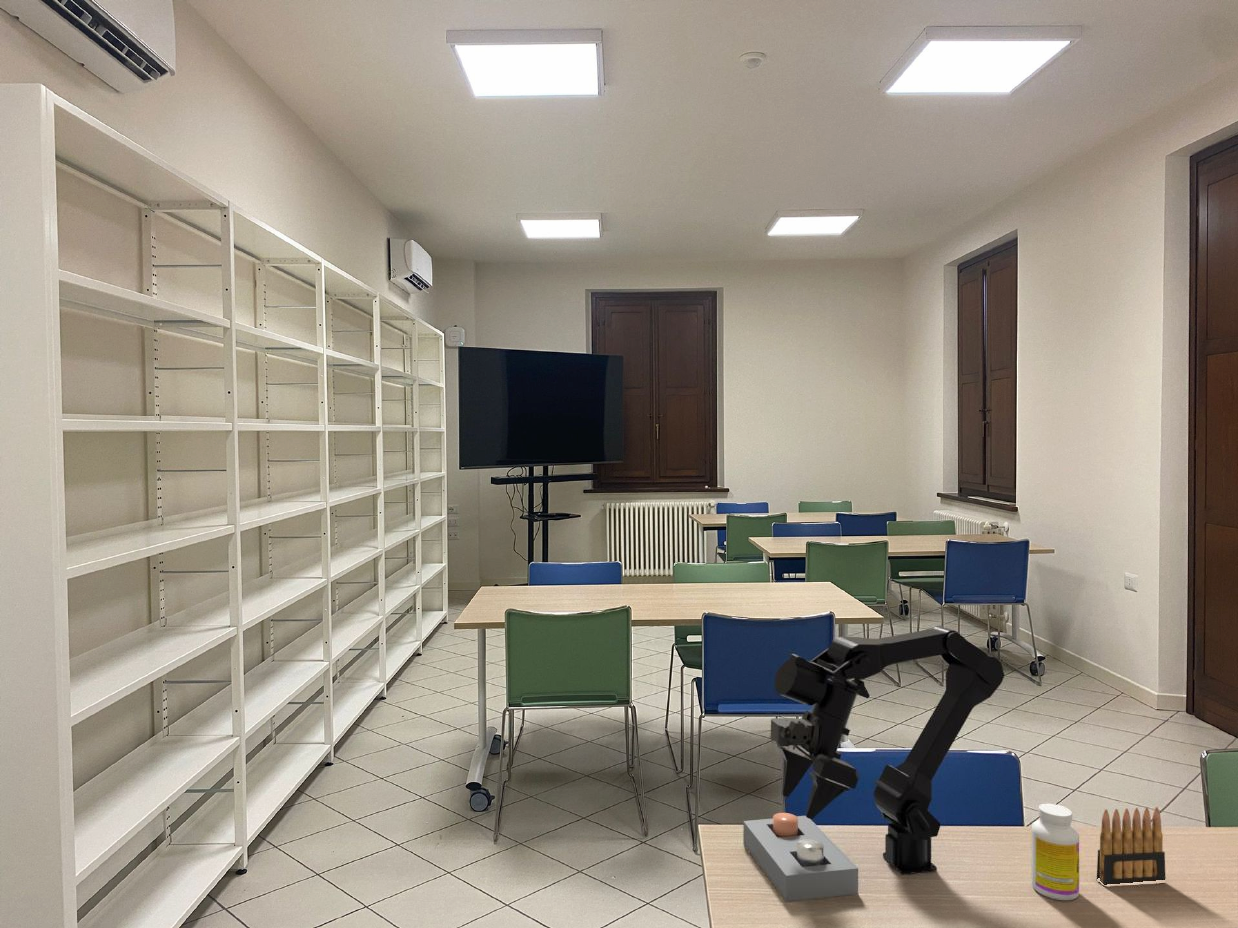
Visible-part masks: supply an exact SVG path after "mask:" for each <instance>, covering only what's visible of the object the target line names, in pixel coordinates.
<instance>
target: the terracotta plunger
mask: <svg viewBox="0 0 1238 928" xmlns="http://www.w3.org/2000/svg"><path fill="white" fill-rule="evenodd" d="M796 816H797V815H794V814H792V813H788V812H777V813H775V814H774V815H773V816H772V819H773V833H774V834H775V835H776V837H777V838H779V837H790V836H798V818H797V817H796Z"/></svg>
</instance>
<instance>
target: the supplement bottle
mask: <svg viewBox="0 0 1238 928" xmlns="http://www.w3.org/2000/svg"><path fill="white" fill-rule="evenodd" d="M1038 817H1039V819H1037V820H1036V821H1034V822H1033V824H1032V825H1031V862H1030V863H1031V873H1030V874H1031V878H1030V879H1031V885H1032V887H1033V888H1034V890H1035V892H1036V891H1037V893H1039V894H1040V895H1042V896H1044V897H1047V898H1050V899H1053V900H1058V901H1073V900H1076V899H1077V898H1078V896H1079V895H1080V835H1079V833H1078V830H1077V829H1076V828H1075V827H1073V826H1072V825H1071V824H1072V822H1073V812H1072V811H1071V809H1069V808H1067V807H1066V806H1063V805H1059V804H1054V803H1042V804H1039V805H1038Z"/></svg>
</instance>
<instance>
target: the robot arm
mask: <svg viewBox="0 0 1238 928" xmlns="http://www.w3.org/2000/svg"><path fill="white" fill-rule="evenodd" d="M937 656H939V657H940V659H941V660H942V661H943V662H944V663H946V664H947V670H946V671H945V690H944V693H943V695H942V697H941V698H940V699H939V702H938V703H937V704H936V707H935V708H934V711H933V712H932V714H931V715H930V717H929V719H928V721H926V724H925V725H924V728H923V729H922V731H921V732H920V735H918V738H917V740H916V741H915V743H914V744H913V746H912V748H911V750H910V752H908V755H907V757H906V758H905V759H904V761H903V762H902V763H900V764H899V765H897V766H892V765H891V764H886V765H885V767H884V768H883V771H882V773H881V775H880V777H879V778H878V779H877V780H876V781H875V782H874V785H876V786H875V788H874V791H873V794H872V795H873V798H874V804H875V806H876V808H877V809H878V810H879V811H880V812H881V816H882V818H883V819H884V820H886V821H888V822H889V823H888V824H887V833H886V834H885V837H884V838H885V840H884V842H885V844H884V845H885V848H884V849H885V852H882V857H883V858H884V859H885V860H886V861H887V862H888V863H890V865H891V866H892V867H894V868H895V870H896V871H898V872H899V873H900V874H902V875H909V874H918V873H928V872H937V871H938V869H937V868H938V867H937V866H936V865H935V864H934V863H933V862H932V839H933V838H935V837H938V835H939V831H940V829H941V822H940V821H938V820H937V818H935V816H934V815H933V814H931V812H930V811H929V810H928V809H929V807H930V805H931V803H932V791H933V790H932V783H933V782H932V781H933V779H934V777H935V775H936V774H937V771H938V769H939V768H940V766H941V764H942V763H943V761H944V759H945V757H946V756H947V755H948V753H949V751H950V749H951V747H952V745H953V744H954V742H955V741H956V738H957V737H958V735H959V733H960V732H961V730H962V728H963V727H964V725H965V723H966V721H967V720H968V718H969V716H970V714H971V712H972V711H973V709H974V708H975V707H977V706H978V705H980V704H981V703H983V702H985V701H986V700H988V699H990V698H991V697H992V696H993V694H994V693H995V692H996V691H997V689H998V688H1000V685H1002V683H1003V681H1004V677H1005V672H1004V667H1003V665H1002V662H1001V661H1000V659H998V658H997V657H995V656H992V655H990V654H988V653H986V652H984V651H983V650H982V649H980V648H979V647H977V646H976V645H975V644H973V643H971V642H970V641H969V640H967V639H966V638H965V637H964V636H963V635H961V634H960V633H959V631H956V630H954V629H951V628H948V627H944V626H940V625H939V626H934V627H932V628H930V629H924V630H919V631H912V632H906V633H902V634H897V635H891V636H886V637H880V638H871V637H870V638H869V637H860V636H839V637H836V638H834V639H832V640H831V643H830V644H829V646H828V648H826V649H825V650H823V651H822V652H821V653H818V655H817V656H815V657H813V658H812V659H811V660H807V659H805V658H804V657H801V656H799V655H798V654H795V653H791V654H790V658H789V659H788V660H785V662H784V663H782V664H781V666H780V668H778V669H777V671H776V674H775V676H774V677H775V678H774V689H775V692H776V693H777V694H778V695H780V696H782V697H785V698H788V699H790V700H792V701H795V702H798V703H801V704H802V705H803V704H804V705H806V706H810V707H811V706H813V707H812V709H811V711H809V710H806V711H804V712H803V714H802V717H801V718H796V717H795V718H793V717H785V718H784V717H783V718H782V717H781V718H779V717H778V718H777V717H776V718H775V717H773V718H771V719H770V737H769V738H770V739H769V740H771V741H774V742H776V744H777V749H778V750H779V752H780V754H781V756H782V758H783V775H782V787H781V789H782V790H781V794H782V796H783V797H786V798H789V797H790V796H791V795H792V793H793V792H794V791H795V789H796V788H797V786H798V785H799V784H800V782H801V780H802V779H803V777H804V776H805V774H806V773H807V772H809V775H810V777H811V780H812V787H811V791H810V794H809V799H808V803H807V806H806V813H805V816H806V817H807V818H809V819H811V820H813V819H814V818H816V817H817V816H818V815H819V814H820V813H821V812H822V811H823V810H824V809H825V808H826V807H828V806H829V805H830V804H831V803H832V802H833V801H835V799H837V798H838V797H839V796H841V795H842V794H843V793H845V792H849V791H850V789H853V790H854V789H856V787H857V784H858V782H859V779H860V775H859V772H858V770H857V769H856V768H855V767H853V766H852V765H851V764H849V763H848V762H847V761H845V760H841V757H842V754H841V753H839V751H838V750H839V746H840V743H841V740H842V737H843V735H845V736H846V737H849V734H850V732H851V730H850V728H847V727H846V726H847V723H848V721H849V718H850V715H851V714H852V711H853V707H854V704H855V702H856V699H857V697H858V696H860V697H863V698H865V699H869V698H870V693H869V691H868V689H867V687H866V685H865V681H864V680H865V679H868V678H870V677H873V676H876V675H878V674H880V673H881V672H883V670H884V669H885V668H887V667H889V666H892V665H896V664H900V663H901V664H902V663H905V662H911V661H912V662H913V661H916V660H921V659H926V658H932V657H937ZM830 677H832V678H830ZM850 679H851V680H850ZM811 766H812V770H810V767H811Z"/></svg>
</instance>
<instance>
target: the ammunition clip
mask: <svg viewBox="0 0 1238 928" xmlns="http://www.w3.org/2000/svg"><path fill="white" fill-rule="evenodd" d="M1141 819H1142V820H1141ZM1121 820H1122V821H1121ZM1131 821H1132V822H1131ZM1121 822H1122V823H1121ZM1100 830H1101V831H1100V834H1099V849H1097V863H1096V864H1097V865H1096V866H1097V867H1096V880H1097V879H1098V878H1100V881H1101V882H1102V883H1103V884H1104V885H1107V884H1120V883H1133V882H1143V881H1156V880H1165V879H1166V854H1165V851H1164V850H1163V848H1164V847H1163V839H1164V838H1163V837H1164V835H1163V831H1162V818H1161V813H1160V809H1159V808H1158V806H1155V808H1154V810H1153V812H1152V818H1151V813H1150V810H1149V808H1148V807H1145V808H1144V810H1143V814H1142V818H1141V813H1140V811H1139V808H1138V807H1135V809H1134V811H1133V814H1132V820H1131V814H1130V812H1129V809H1128V808H1125V809H1124V812H1123V815H1122V819H1121V816H1120V812H1119V809H1118V808H1115V810H1114V811H1113V814H1112V818H1111V819H1110V813H1109V811H1108V809H1106V808H1105V809H1104V811H1103V813H1102V818H1101V827H1100ZM1166 880H1167V879H1166Z"/></svg>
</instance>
